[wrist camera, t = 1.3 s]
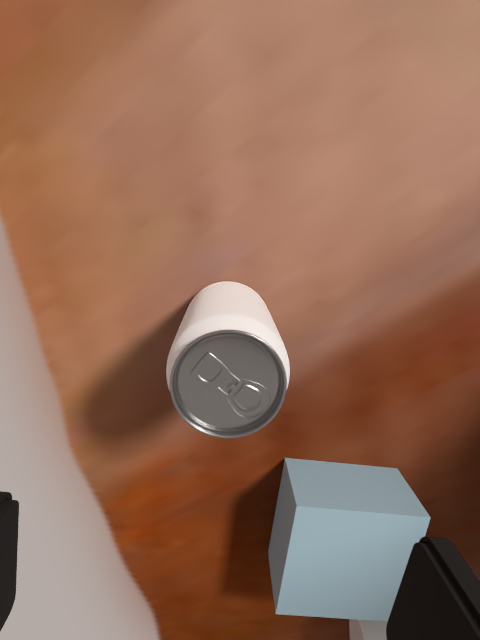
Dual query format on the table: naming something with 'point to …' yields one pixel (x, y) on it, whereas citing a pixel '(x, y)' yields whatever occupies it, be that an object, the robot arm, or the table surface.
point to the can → (227, 363)
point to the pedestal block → (342, 539)
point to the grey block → (367, 630)
